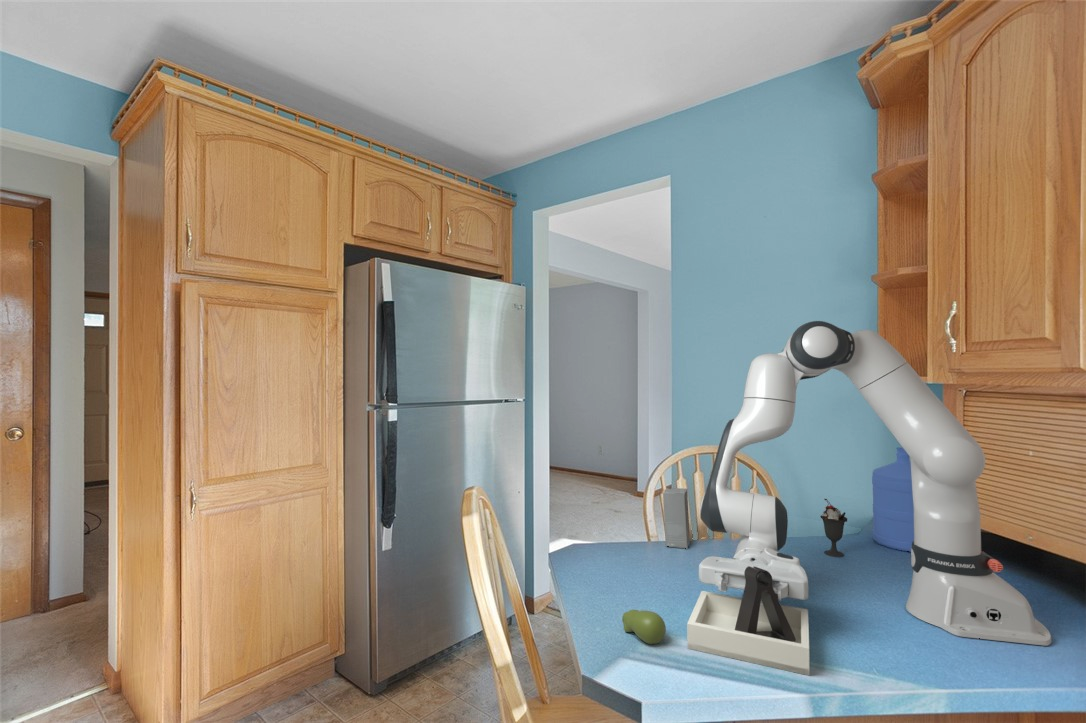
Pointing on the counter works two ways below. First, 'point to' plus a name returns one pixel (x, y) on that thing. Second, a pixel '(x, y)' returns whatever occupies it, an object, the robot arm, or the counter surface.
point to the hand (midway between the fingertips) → (748, 591)
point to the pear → (645, 625)
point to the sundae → (833, 528)
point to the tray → (747, 634)
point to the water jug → (894, 504)
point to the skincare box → (676, 517)
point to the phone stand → (751, 601)
